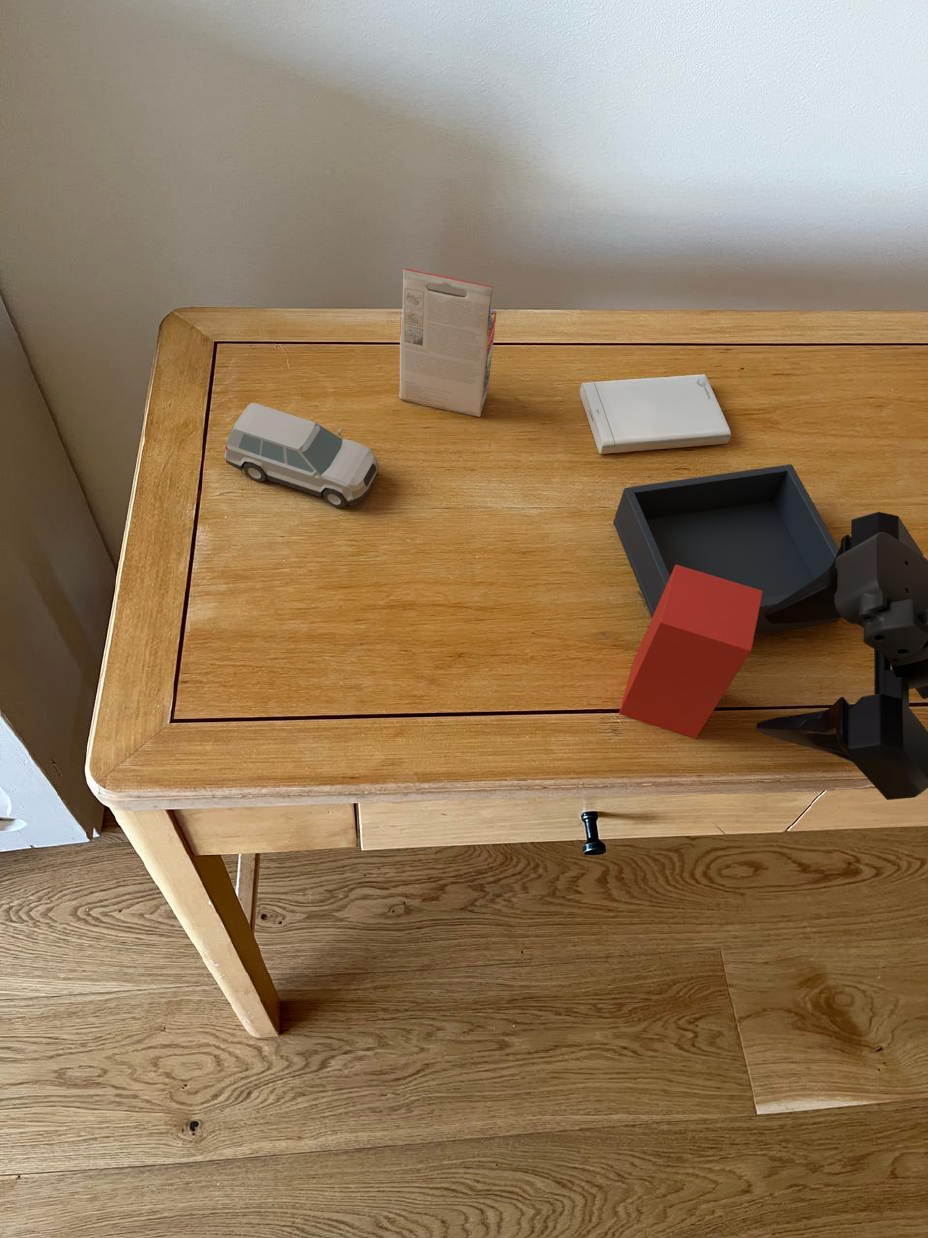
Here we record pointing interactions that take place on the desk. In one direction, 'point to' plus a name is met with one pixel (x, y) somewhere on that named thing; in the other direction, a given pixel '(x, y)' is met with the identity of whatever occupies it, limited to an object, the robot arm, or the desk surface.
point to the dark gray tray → (728, 534)
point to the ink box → (445, 343)
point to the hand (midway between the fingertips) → (763, 671)
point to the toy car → (300, 455)
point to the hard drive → (653, 413)
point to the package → (691, 651)
